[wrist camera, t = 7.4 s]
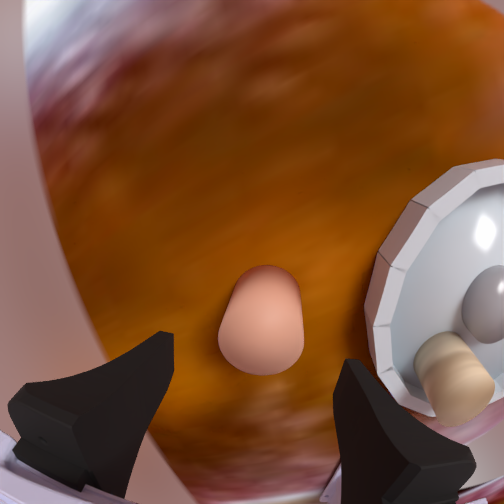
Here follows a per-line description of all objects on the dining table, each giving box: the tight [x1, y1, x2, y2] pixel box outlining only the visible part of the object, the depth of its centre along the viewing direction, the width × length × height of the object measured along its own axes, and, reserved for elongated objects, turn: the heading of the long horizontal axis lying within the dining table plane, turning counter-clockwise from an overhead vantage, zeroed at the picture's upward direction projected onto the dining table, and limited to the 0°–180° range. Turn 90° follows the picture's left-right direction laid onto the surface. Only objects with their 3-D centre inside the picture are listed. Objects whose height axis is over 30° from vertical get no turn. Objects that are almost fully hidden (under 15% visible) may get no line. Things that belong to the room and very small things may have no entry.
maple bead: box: [413, 331, 495, 427], centre depth 16 cm, size 4×4×5 cm
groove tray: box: [364, 159, 504, 417], centre depth 17 cm, size 18×18×2 cm
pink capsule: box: [218, 265, 304, 375], centre depth 17 cm, size 4×4×5 cm
